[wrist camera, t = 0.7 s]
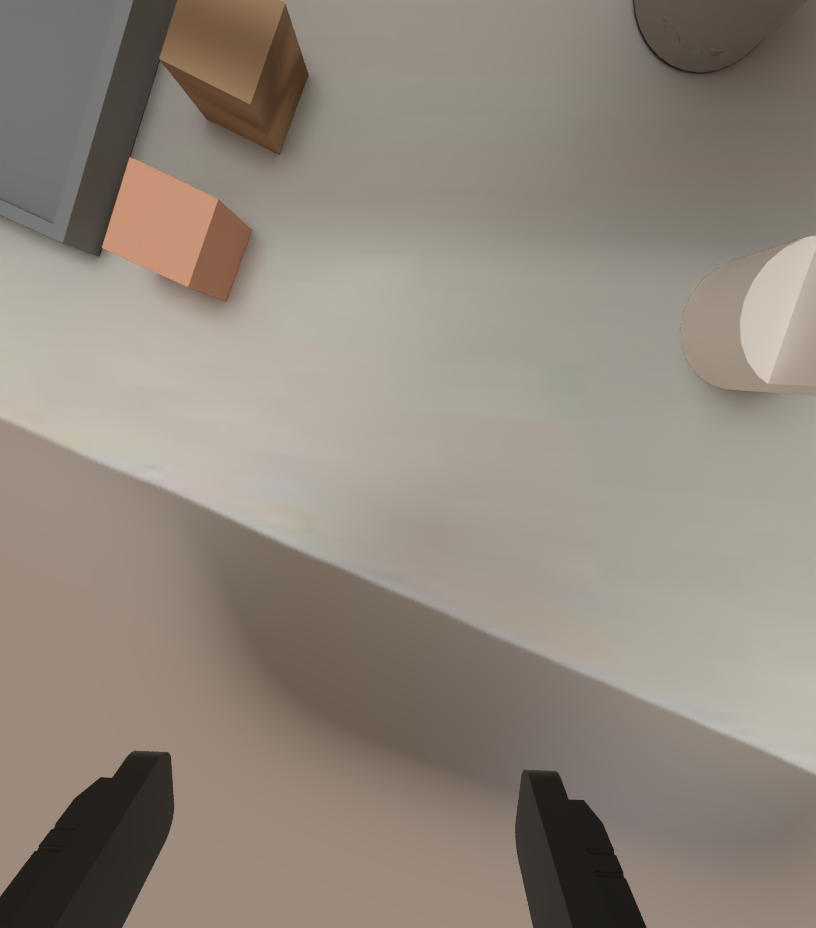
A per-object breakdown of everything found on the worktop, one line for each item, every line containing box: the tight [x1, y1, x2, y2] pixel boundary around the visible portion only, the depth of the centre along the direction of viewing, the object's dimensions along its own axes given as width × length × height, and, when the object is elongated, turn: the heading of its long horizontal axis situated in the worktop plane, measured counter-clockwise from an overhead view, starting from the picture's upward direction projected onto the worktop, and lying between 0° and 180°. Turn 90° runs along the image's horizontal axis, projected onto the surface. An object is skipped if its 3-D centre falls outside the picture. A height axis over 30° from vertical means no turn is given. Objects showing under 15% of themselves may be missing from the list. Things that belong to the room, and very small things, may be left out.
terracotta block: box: [102, 157, 252, 301], centre depth 29 cm, size 5×5×6 cm
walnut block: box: [159, 0, 308, 154], centre depth 27 cm, size 5×5×6 cm
